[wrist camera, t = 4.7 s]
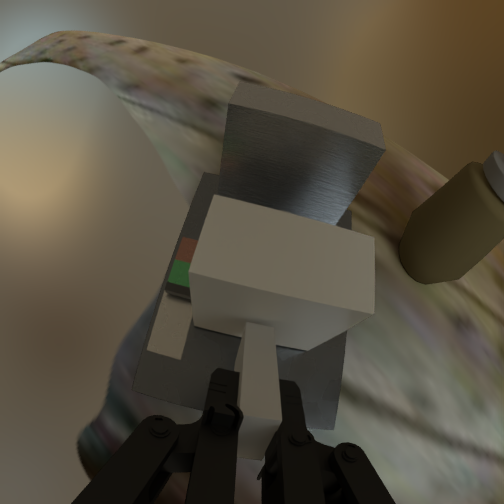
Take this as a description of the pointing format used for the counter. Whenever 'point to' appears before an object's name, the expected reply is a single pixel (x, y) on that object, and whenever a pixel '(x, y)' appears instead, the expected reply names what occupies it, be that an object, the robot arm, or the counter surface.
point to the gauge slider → (278, 274)
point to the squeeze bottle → (456, 224)
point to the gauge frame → (276, 197)
